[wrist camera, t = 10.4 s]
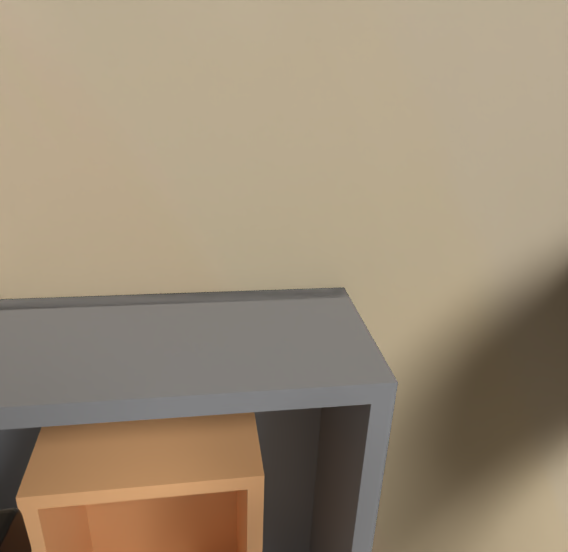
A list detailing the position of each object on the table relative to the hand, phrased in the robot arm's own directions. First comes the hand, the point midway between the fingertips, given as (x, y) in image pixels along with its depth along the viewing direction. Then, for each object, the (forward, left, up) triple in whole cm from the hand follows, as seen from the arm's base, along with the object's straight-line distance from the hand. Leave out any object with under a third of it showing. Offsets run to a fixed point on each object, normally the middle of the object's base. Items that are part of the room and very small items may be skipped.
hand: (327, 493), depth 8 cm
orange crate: (+4, +11, -11) cm, 16 cm away
